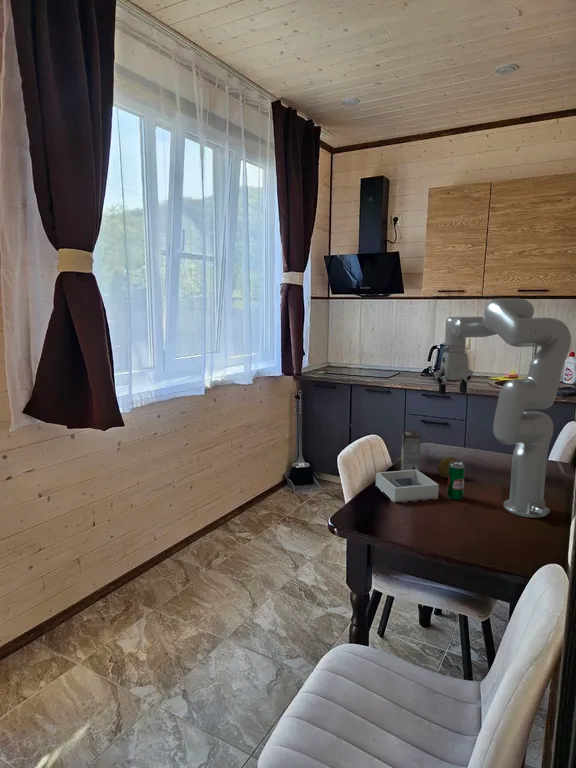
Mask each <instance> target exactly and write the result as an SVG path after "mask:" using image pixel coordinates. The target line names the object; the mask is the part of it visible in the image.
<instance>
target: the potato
mask: <svg viewBox="0 0 576 768" xmlns="http://www.w3.org/2000/svg"><path fill="white" fill-rule="evenodd" d="M453 461H458V460H457V459H456V458H455V457H453V456H447V457H444V458H442V459H441V460H440V462H439V463H437V472H438V474H439V476H441V477H442V478H444V479H447V478H448V472H449V465H450V462H453Z"/></svg>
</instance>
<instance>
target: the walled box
mask: <svg viewBox="0 0 576 768" xmlns="http://www.w3.org/2000/svg"><path fill="white" fill-rule="evenodd" d="M376 486H377V487H378V488H379V489H380V492H382V493H383V492H384V493H385V494H386V495H387V496H388V497H389V498H390V501H392V502H393V501H394V502H402V503H408V501H412V502H419V501H418V500H422V501H430V500H429V499H433V500H439V489H440V487H439V483H437V482H436V481H434V480H432V479H431V478H430V477H428V476H427V475H425V474H424V473H423V472H421V471H420V470H419V471H418V470H404V471H401V470H397V471H396V470H394V471H393V470H392V471H383V472H381V471H380V472H376V473H375V487H376ZM377 487H376V488H377ZM378 488H377V489H378ZM384 493H383V494H384ZM385 494H384V495H385ZM386 495H385V496H386ZM387 496H386V497H387ZM388 497H387V498H388ZM389 498H388V499H389ZM394 502H393V503H394Z"/></svg>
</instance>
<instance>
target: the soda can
mask: <svg viewBox="0 0 576 768" xmlns="http://www.w3.org/2000/svg"><path fill="white" fill-rule="evenodd" d="M465 470H466V467H465V464H464V463H463V461H458V460H457V461H453V462H450V465H449V472H448V479H447V490H446V491H447V497H448V498H449V499H450V500H454V501H460V500H462V499H463V498H464V491H465V472H466V471H465Z"/></svg>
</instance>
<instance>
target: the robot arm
mask: <svg viewBox="0 0 576 768" xmlns="http://www.w3.org/2000/svg"><path fill="white" fill-rule="evenodd" d="M534 313H535V309H534V306H533V304H532V303H531V302H530V301H528V300H526V299H524V298H494V299H493V300H491V301H489V303H487V305H486V306H485V308H484V312H483V315H482V316H449V317H447V318H446V321H445V332H444V333H445V334H444V335H445V336H444V346H442V351H444V352H443V353H442V356H441V357H442V358H441V363H440V369H438V370H436V371H435V372H433V376H434V378H435V379H434V380H435V381H436V382H437V384H438V394H439V395H443V396H445V395H446V392H447V391H446V389H447V384H446V382H447V381H448V380H450V381H451V380H460V383H459V392H460V393H462V394H467V389H468V384H469V381H470V380H471V378H472V376H473V374H474V371H473V370H471V369H470V368H469V357H468V353H467V352H466V342H467V339H469V338H486V337H487V338H488V337H491V336H496V335H498V337H500V338H501V339H502V340H503V341H504V342H505V343H506V344H508V345H510V346H512V347H514V348H526V347H527V348H529V347H531V348H532V347H533V348H534V347H540V349H539V351H538V352H536V354H535V355H534V356H533V358H532V360H531V361H530V363H529V369H528V373H527V375H526V377H525V378H516V379H515V378H514V379H510V380H507V381H506V382H505V383H504V384H503V385H502V387H501V389H500V391H499V394H498V399H497V404H496V408H495V413H494V419H493V424H492V425H493V426H492V427H493V428H492V429H493V435H494V437H495V439H496V440H497V441H498V442H499V443H501V444H504V445H515V447H514V449H513V453H512V461H511V472H510V474H511V475H510V487H509V497H508V498H509V499H507V500H505V501H504V502H503V508H504V509H505V510H506V511H507V512H509V513H511V514H513V515H516V516H519V517H525V518H535V519H537V518H539V519H540V518H543V517H546V516H547V515H548V514H550V512H551V509H550V508H549V507H547V506H546V501H545V500H544V495H545V484H546V473H547V465H548V464H547V463H548V452H549V447H550V443H551V440H552V438H553V433H554V422H553V420H552V419H551V417H550V416H549V415H548V414H546V413H545V412H542V411H539V410H547V409H549V408H551V407H552V406H553V404H554V403H555V400H556V397H557V393H558V388H559V385H560V381H561V376H562V371H563V368H564V364H565V361H566V359H567V357H568V355H569V352H570V349H571V344H572V336H571V331H570V329H569V327H568V326H567V324H566V323H564V322H563V321H561V320H560V319H557V318H553V317H533V316H534ZM466 338H467V339H466Z"/></svg>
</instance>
